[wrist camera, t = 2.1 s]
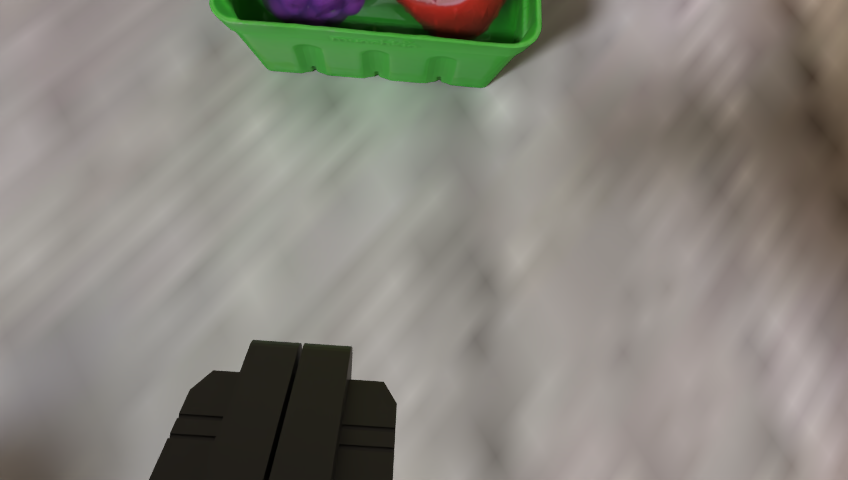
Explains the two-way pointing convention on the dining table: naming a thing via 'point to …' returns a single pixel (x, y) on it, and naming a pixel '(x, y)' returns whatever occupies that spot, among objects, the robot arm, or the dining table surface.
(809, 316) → the dining table surface
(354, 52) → the fruit basket
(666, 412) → the dining table surface
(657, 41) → the dining table surface
